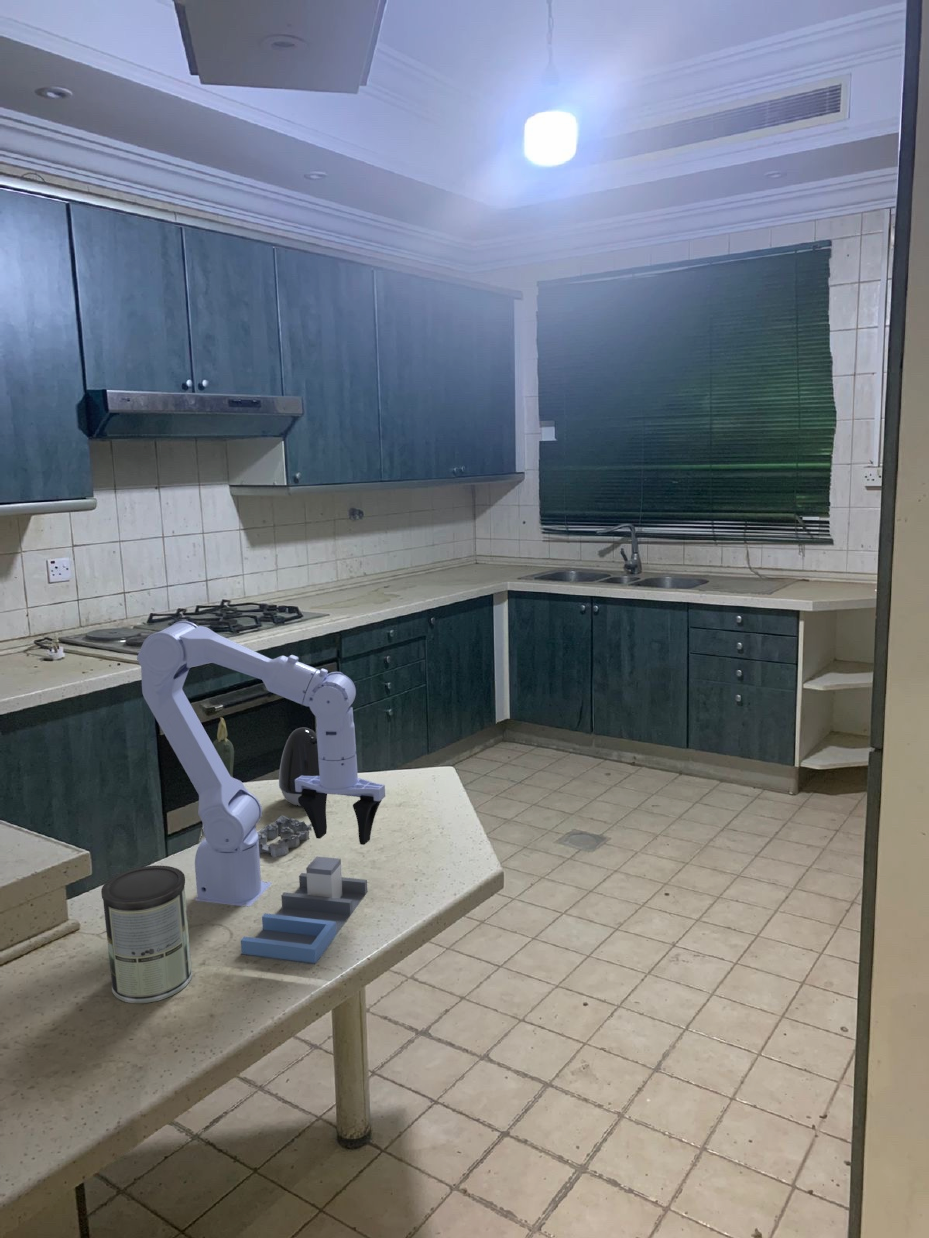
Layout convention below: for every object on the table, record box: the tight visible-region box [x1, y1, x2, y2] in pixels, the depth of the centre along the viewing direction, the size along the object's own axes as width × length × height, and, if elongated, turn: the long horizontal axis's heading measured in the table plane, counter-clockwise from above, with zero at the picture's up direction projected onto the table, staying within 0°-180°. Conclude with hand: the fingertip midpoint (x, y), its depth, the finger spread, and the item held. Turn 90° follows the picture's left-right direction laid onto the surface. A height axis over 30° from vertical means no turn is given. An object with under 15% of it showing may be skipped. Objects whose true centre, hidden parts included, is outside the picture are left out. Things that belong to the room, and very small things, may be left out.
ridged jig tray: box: [240, 872, 369, 965], centre depth 135 cm, size 11×21×3 cm, turn 166°
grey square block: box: [305, 855, 343, 898], centre depth 141 cm, size 4×4×6 cm
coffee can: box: [100, 865, 193, 1004], centre depth 120 cm, size 10×10×14 cm
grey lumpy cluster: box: [257, 814, 313, 858], centre depth 161 cm, size 11×8×4 cm
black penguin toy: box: [278, 726, 320, 807], centre depth 180 cm, size 10×10×15 cm
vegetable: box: [212, 717, 235, 778], centre depth 171 cm, size 4×4×20 cm
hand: (343, 838), depth 141 cm, fingers open, 7 cm apart
